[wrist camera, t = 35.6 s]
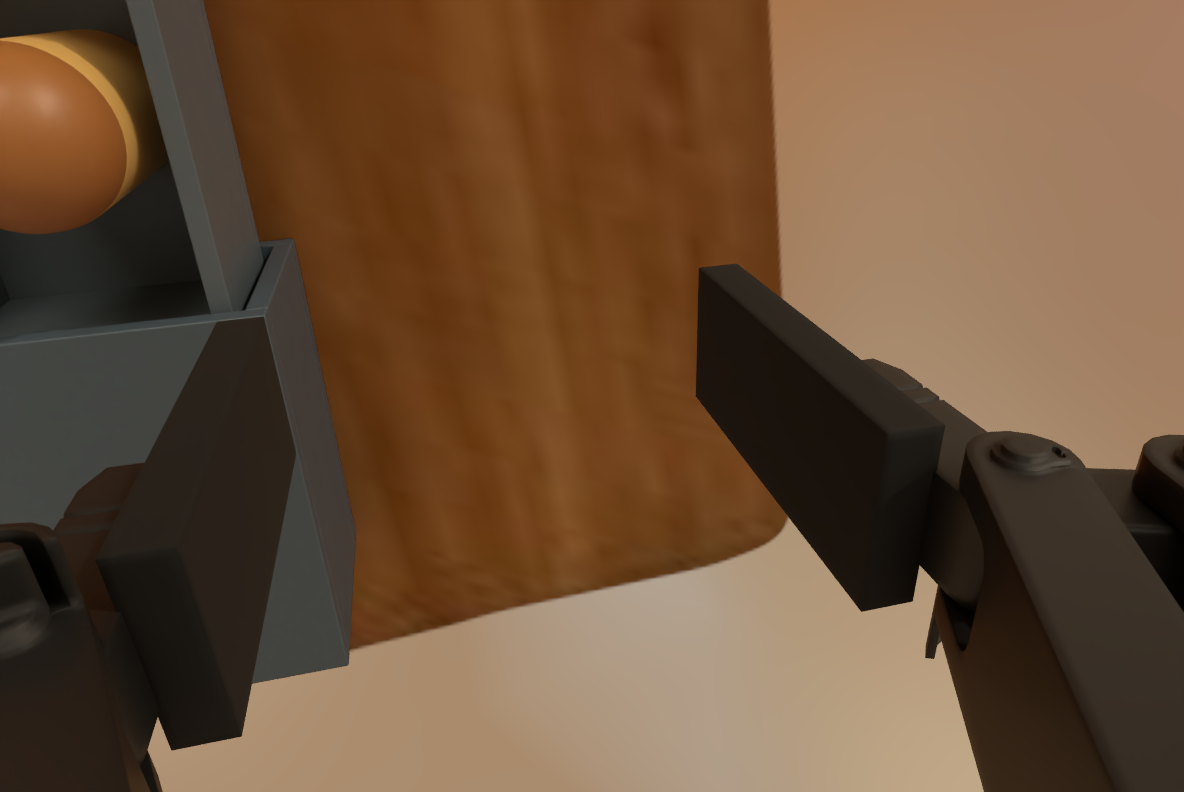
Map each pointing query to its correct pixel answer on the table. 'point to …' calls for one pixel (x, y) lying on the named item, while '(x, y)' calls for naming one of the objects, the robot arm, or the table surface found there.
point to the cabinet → (135, 419)
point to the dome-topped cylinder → (72, 128)
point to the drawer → (143, 191)
